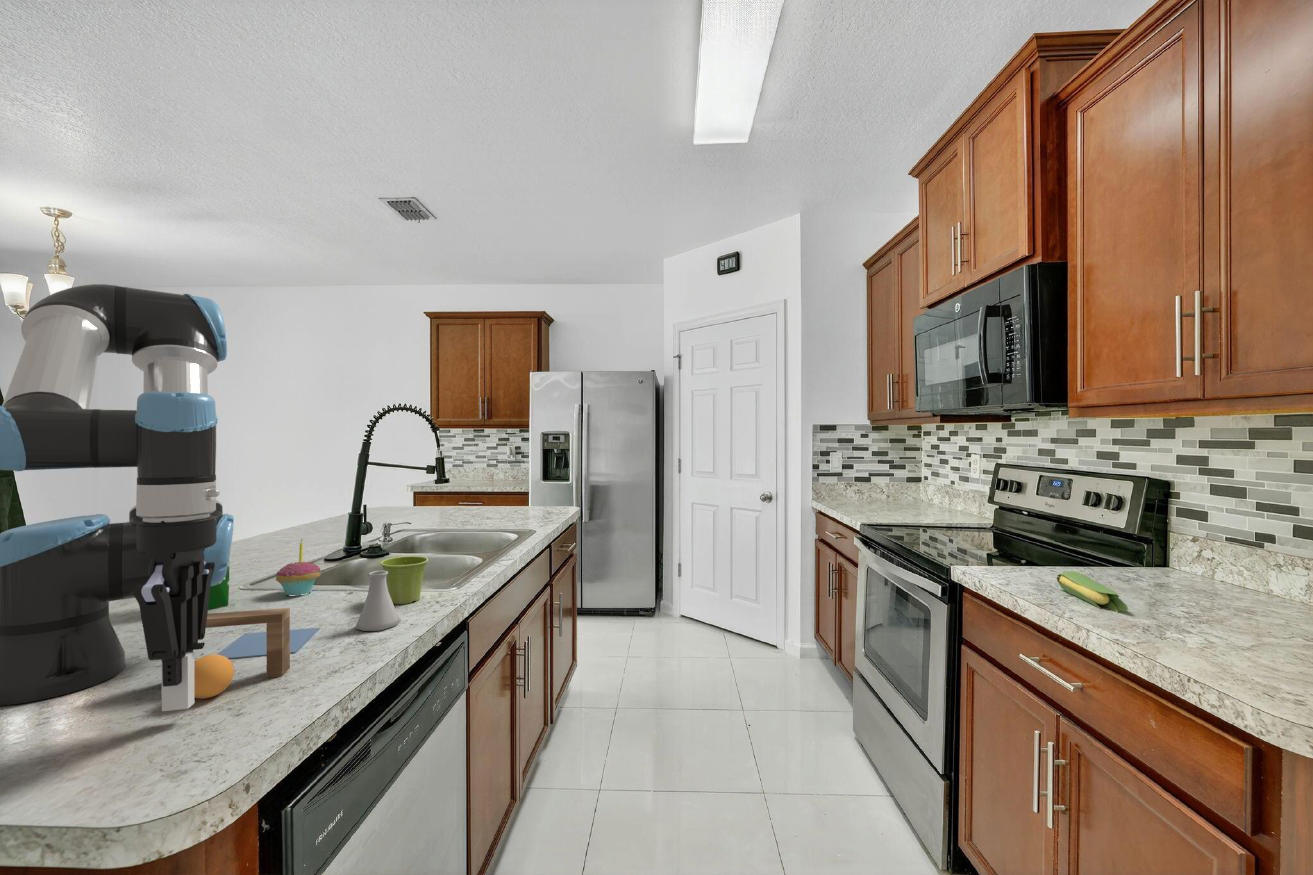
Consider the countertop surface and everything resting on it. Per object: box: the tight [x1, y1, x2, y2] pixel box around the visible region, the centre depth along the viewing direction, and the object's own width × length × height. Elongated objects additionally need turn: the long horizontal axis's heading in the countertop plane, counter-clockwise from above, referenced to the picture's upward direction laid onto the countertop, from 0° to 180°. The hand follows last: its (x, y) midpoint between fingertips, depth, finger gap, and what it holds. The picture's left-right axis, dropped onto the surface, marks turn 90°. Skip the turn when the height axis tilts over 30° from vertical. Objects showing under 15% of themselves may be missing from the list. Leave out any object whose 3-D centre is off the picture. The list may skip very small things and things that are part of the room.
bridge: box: [206, 607, 291, 679], centre depth 82 cm, size 3×14×9 cm, turn 105°
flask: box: [354, 570, 401, 632], centre depth 104 cm, size 7×7×10 cm
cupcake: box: [275, 538, 321, 596], centre depth 125 cm, size 9×8×12 cm
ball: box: [194, 654, 235, 699], centre depth 76 cm, size 6×6×6 cm
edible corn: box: [1056, 570, 1129, 614], centre depth 119 cm, size 5×20×5 cm
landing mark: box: [216, 627, 321, 660], centre depth 95 cm, size 12×12×1 cm
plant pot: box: [380, 555, 429, 605], centre depth 120 cm, size 9×9×9 cm
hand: (178, 706), depth 69 cm, fingers closed
